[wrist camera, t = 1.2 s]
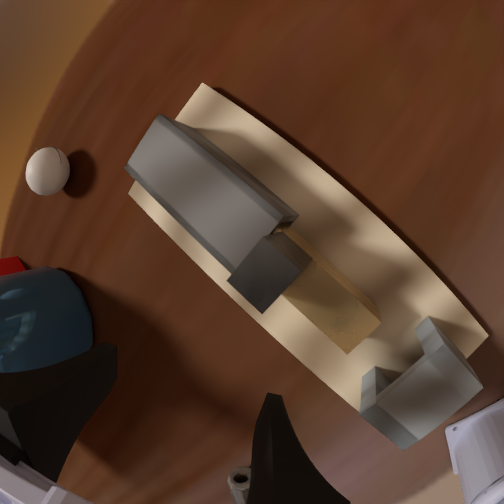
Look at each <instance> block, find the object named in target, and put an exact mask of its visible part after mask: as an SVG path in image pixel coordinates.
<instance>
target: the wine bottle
mask: <svg viewBox="0 0 504 504" xmlns="http://www.w3.org/2000/svg"><path fill="white" fill-rule="evenodd" d="M93 343H94V339H93V327H92V317H91V314H90V312H89V309H88V307H87V304H86V301H85V299H84V296H83V293H82V291H81V290H80V288H79V287H78V286H77V285H76V283H75V282H74V281H73V280H72V278H71V277H70V276H69V274H68V273H66V272H63V271H60V270H58V269H55V268H52V267H49V266H45V267H40V268H36V269H31V270H26V271H21V272H17V273H12V274H8V275H3V276H0V373H9V372H21V371H27V370H33V369H38V368H42V367H46V366H50V365H53V364H56V363H59V362H62V361H64V360H67V359H69V358H72V357H74V356H77V355H79V354H81V353H83V352H86V351H88V350H90V349H91V347H92V345H93Z"/></svg>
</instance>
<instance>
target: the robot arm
mask: <svg viewBox="0 0 504 504" xmlns="http://www.w3.org/2000/svg"><path fill="white" fill-rule="evenodd" d="M116 379H117V346H115V345H112V344H110V343H107V342H105V343H103V344H100V345H98V346H96V347H94V348H92V349H90V350H88V351H86V352H83V353H81V354H79V355H77V356H74V357H72V358H69V359H67V360H64V361H62V362H59V363H56V364H53V365H50V366H46V367H42V368H38V369H33V370H27V371H21V372H9V373H0V504H94V503H92V502H90V501H88V500H86V499H84V498H82V497H80V496H78V495H76V494H74V493H72V492H70V491H68V490H67V489H65V488H63V487H61V486H60V485H58V484H56V482H57V480H58V477H59V475H60V472H61V470H62V467H63V465H64V463H65V461H66V459H67V456H68V454H69V452H70V450H71V448H72V446H73V444H74V442H75V441H76V439H77V437H78V435H79V434H80V432H81V430H82V428H83V427H84V425H85V424H86V422H87V421H88V420H89V419H90V417H91V416H92V415H93V413H94V412H95V411H96V409H97V408H98V407H99V405H100V404H101V403H102V402H103V400H104V399H105V398H106V396H107V395H108V393H109V392H110V390H111V388H112V386H113V385H114V383H115V381H116ZM455 427H456V428H455ZM453 428H455V429H453ZM445 433H446V437H447V442H448V446H449V451H450V456H451V461H452V466H453V472H454V474H459V476H460V481H461V486H462V491H463V496H464V501H465V504H504V398H503V399H501V400H499V401H497V402H496V403H494V404H492V405H490V406H488V407H486V408H484V409H483V410H481V411H479V412H477V413H475V414H473V415H471V416H469V417H467V418H465V419H463V420H460V421H458V422H456V423H454V424H452V425H449V426H448V427H447V428H446V429H445ZM246 504H351V503H350V501H349V500H347V499H346V498H345V497H344V496H342V495H341V494H340V493H339V492H338V491H336V490H335V489H334V488H333V487H332V486H331V485H330V484H329V483H328V482H327V481H326V480H325V478H324V477H323V476H322V475H321V474H320V472H319V471H318V470H317V469H316V468H315V466H314V465H313V463H312V462H311V461H310V459H309V458H308V456H307V454H306V453H305V451H304V449H303V448H302V446H301V444H300V442H299V440H298V438H297V436H296V434H295V432H294V429H293V427H292V425H291V422H290V420H289V417H288V414H287V411H286V408H285V405H284V402H283V398H282V396H281V395H277V394H272V393H267V396H266V398H265V401H264V403H263V406H262V409H261V411H260V414H259V416H258V419H257V421H256V426H255V431H254V437H253V445H252V461H251V478H250V486H249V491H248V497H247V502H246Z"/></svg>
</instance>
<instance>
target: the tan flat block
mask: <svg viewBox="0 0 504 504" xmlns="http://www.w3.org/2000/svg"><path fill="white" fill-rule="evenodd" d="M226 281H227V282H228V283H229V284H230V285H231V286H232V287H233V288H234V289H236V290H237V291H238V292H239V293H240V294H241V295H242V296H243V297H244V298H245V299H246V300H247V301H248V302H249V303H250V304H251V305H252V306H254V307H255V308H256V309H257V310H258V311H259V312H260V313H261V314H263V313H264V312H265V311H266V310H267V309H268V308H269V307H270V306H271V305H272V304H273V303H274V302H275V301H276V300H277V299H278V298H279V297H280V295H282V296H284V297H285V298H286V299H287V300H288V301H289V302H290V303H291V304H292V305H293V306H294V307H295V308H297V309H298V310H299V311H300V312H301V313H302V314H303V315H304V316H305V317H306V318H307V319H309V320H310V321H311V322H312V323H313V324H314V325H315V326H316V327H317V328H318V329H319V330H321V331H322V332H323V333H324V334H325V335H326V336H327V337H328V338H329V339H330V340H332V341H333V342H334V343H335V344H336V345H337V346H338V347H339V348H340V349H341V350H343V351H344V352H345V353H346V354H347V355H348V354H349V353H350V352H351V351H352V350H353V349H354V348H355V347H356V346H358V345H359V344H360V343H361V342H362V341H363V340H364V339H365V338H366V337H367V336H368V335H369V334H370V333H371V332H373V331H374V330H375V329H376V328H377V327H378V326H379V325H380V324H381V323H382V322H381V317H380V311H379V308H378V307H377V306H376V305H375V304H374V303H373V302H372V301H371V300H370V299H369V298H368V297H367V296H366V295H365V294H364V293H362V292H361V291H360V290H359V289H358V288H357V287H356V286H355V285H354V284H353V283H352V282H351V281H350V280H349V279H348V278H347V277H345V276H344V275H343V274H342V273H341V272H340V271H339V270H338V269H337V268H336V267H335V266H334V265H332V264H331V263H330V262H329V261H328V260H327V259H326V258H325V257H324V256H323V255H322V254H320V253H319V252H318V251H317V250H316V249H315V248H314V247H313V246H312V245H310V244H309V243H308V242H307V241H306V240H305V239H304V238H303V237H302V236H300V235H299V234H298V233H297V232H296V231H295V230H294V229H293V228H291V227H290V226H289V225H288V224H287V223H286V222H281V223H280V224H279V225H278V226H277V227H276V229H275V230H274V231H273V232H272V234H270V235H266V236H263V237H262V238H261V239H260V240H259V241H258V243H257V244H256V245H255V246H254V247H253V249H252V250H251V251H250V252H249V254H248V255H247V256H246V257H245V258H244V260H243V261H242V262H241V263H240V265H239V266H238V267H237V268H236V269H235V271H234V272H233V273H232V274H231V275H230V277H229V278H228V279H227V280H226Z"/></svg>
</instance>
